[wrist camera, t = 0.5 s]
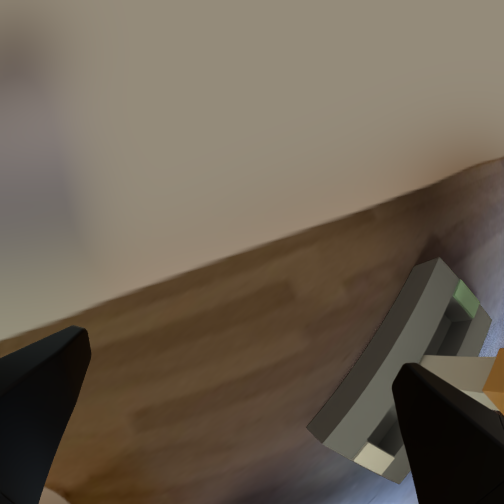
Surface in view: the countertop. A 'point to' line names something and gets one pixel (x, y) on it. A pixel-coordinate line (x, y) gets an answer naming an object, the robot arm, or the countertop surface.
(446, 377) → the switch handle
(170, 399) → the countertop surface
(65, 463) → the countertop surface
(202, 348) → the countertop surface
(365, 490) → the countertop surface
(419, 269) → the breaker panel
